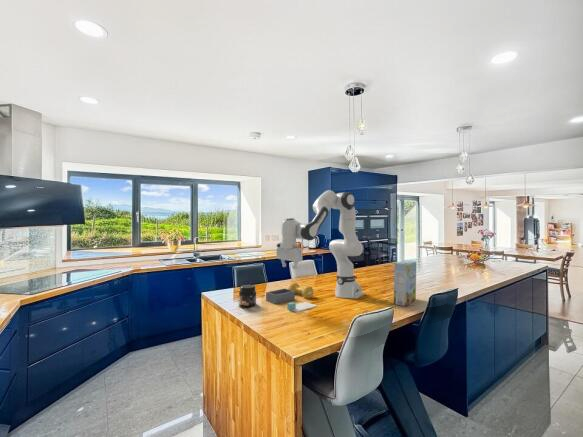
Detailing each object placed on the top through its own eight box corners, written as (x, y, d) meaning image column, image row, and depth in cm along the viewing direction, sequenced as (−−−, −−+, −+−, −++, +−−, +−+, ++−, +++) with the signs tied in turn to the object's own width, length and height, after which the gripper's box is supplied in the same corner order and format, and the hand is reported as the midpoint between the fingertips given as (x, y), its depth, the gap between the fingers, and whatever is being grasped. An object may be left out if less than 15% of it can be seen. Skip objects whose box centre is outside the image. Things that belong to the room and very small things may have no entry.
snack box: (407, 307, 174) (407, 264, 174) (393, 304, 179) (393, 263, 179) (417, 299, 191) (416, 260, 191) (403, 297, 197) (403, 259, 197)
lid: (305, 303, 183) (305, 296, 183) (317, 306, 175) (317, 300, 176) (283, 308, 171) (283, 301, 171) (294, 312, 163) (294, 305, 163)
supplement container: (235, 306, 175) (235, 287, 175) (245, 302, 184) (245, 283, 184) (249, 309, 170) (249, 289, 170) (259, 304, 179) (259, 285, 179)
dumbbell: (287, 294, 204) (287, 283, 204) (296, 292, 210) (296, 281, 210) (305, 300, 189) (305, 288, 189) (315, 298, 195) (314, 286, 195)
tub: (285, 297, 197) (285, 288, 197) (294, 300, 189) (294, 291, 189) (266, 301, 186) (266, 292, 186) (275, 305, 179) (275, 295, 179)
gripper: (304, 245, 169) (305, 269, 170) (282, 243, 185) (282, 265, 185) (296, 246, 165) (297, 270, 165) (274, 244, 180) (274, 266, 180)
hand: (289, 267), depth 175 cm, fingers open, 8 cm apart
